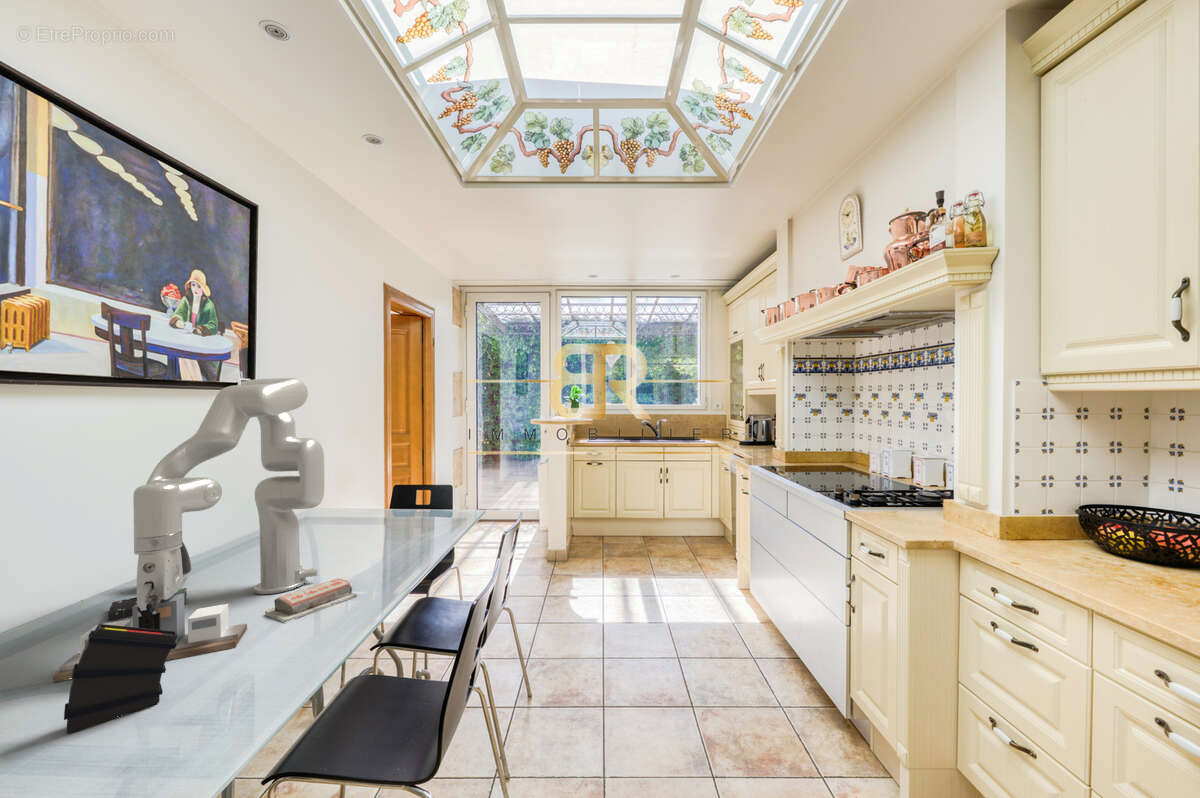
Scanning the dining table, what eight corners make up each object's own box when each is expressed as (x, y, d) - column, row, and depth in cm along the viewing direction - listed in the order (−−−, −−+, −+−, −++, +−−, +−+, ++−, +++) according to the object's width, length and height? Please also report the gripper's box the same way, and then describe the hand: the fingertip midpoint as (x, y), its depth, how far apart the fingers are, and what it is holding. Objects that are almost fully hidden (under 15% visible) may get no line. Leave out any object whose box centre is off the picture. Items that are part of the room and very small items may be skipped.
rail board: (247, 628, 112) (246, 620, 112) (235, 647, 103) (235, 637, 103) (82, 658, 100) (82, 649, 100) (52, 682, 91) (52, 671, 91)
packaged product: (335, 575, 135) (357, 580, 130) (336, 592, 135) (357, 598, 129) (263, 597, 119) (284, 604, 114) (264, 617, 119) (285, 625, 114)
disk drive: (107, 624, 119) (187, 606, 128) (107, 613, 119) (186, 595, 128) (112, 612, 126) (186, 596, 136) (111, 601, 127) (186, 586, 136)
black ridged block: (35, 725, 75) (95, 622, 80) (142, 725, 83) (189, 632, 89) (34, 736, 72) (95, 629, 77) (143, 734, 81) (192, 638, 86)
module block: (184, 635, 105) (184, 593, 105) (176, 644, 100) (176, 600, 101) (142, 643, 102) (142, 599, 102) (132, 652, 97) (131, 607, 98)
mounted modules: (228, 626, 109) (228, 603, 109) (220, 637, 103) (219, 614, 103) (96, 649, 99) (96, 625, 100) (79, 663, 94) (79, 637, 94)
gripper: (165, 549, 96) (166, 637, 95) (195, 531, 111) (196, 607, 111) (114, 555, 92) (115, 646, 92) (152, 536, 108) (153, 613, 108)
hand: (159, 625), depth 101 cm, fingers open, 9 cm apart
